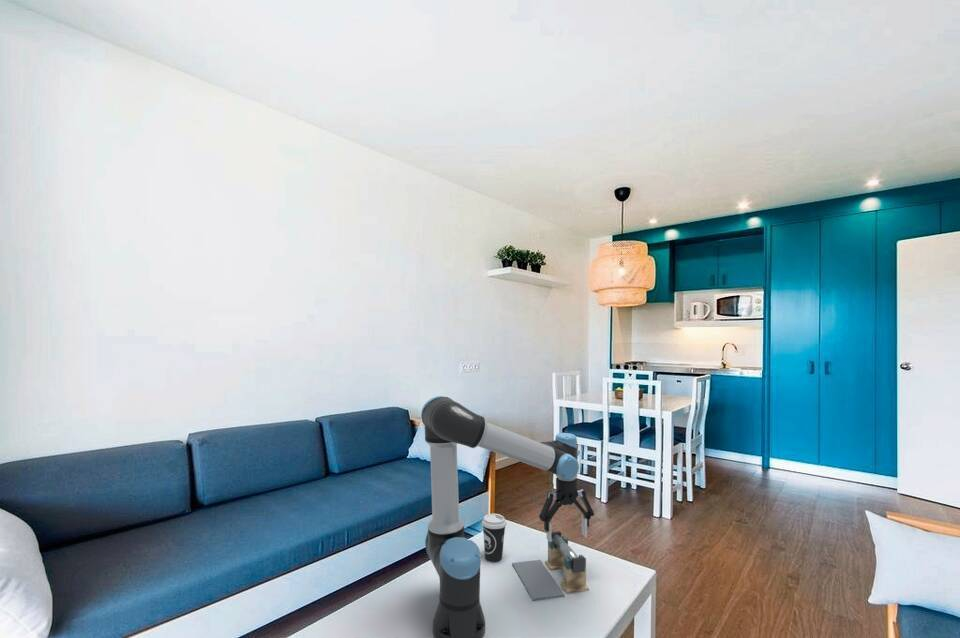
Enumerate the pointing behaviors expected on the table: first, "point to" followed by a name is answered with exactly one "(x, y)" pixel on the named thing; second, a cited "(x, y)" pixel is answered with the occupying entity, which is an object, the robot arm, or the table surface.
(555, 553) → the post far
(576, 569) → the rail
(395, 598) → the table surface
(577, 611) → the table surface
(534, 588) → the pad
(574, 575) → the post near
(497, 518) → the coffee cup
